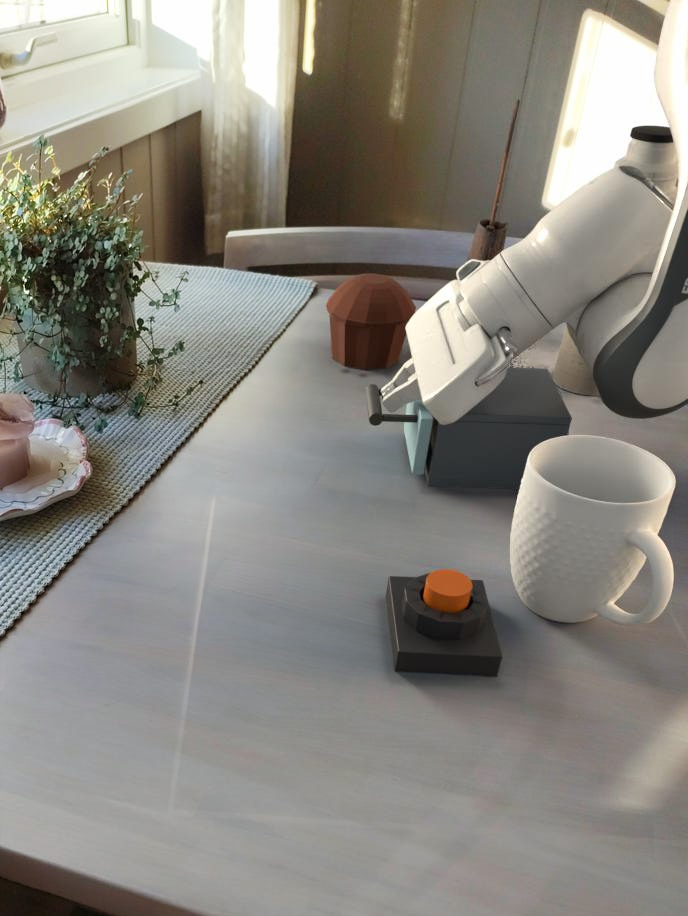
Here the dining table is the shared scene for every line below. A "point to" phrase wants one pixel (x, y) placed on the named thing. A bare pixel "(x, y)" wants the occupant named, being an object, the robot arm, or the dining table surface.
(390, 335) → the muffin
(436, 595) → the button
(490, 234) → the butter churn
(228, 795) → the dining table surface
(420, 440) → the tray
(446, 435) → the dispenser
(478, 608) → the control block
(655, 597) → the mug
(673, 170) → the thermos bottle
